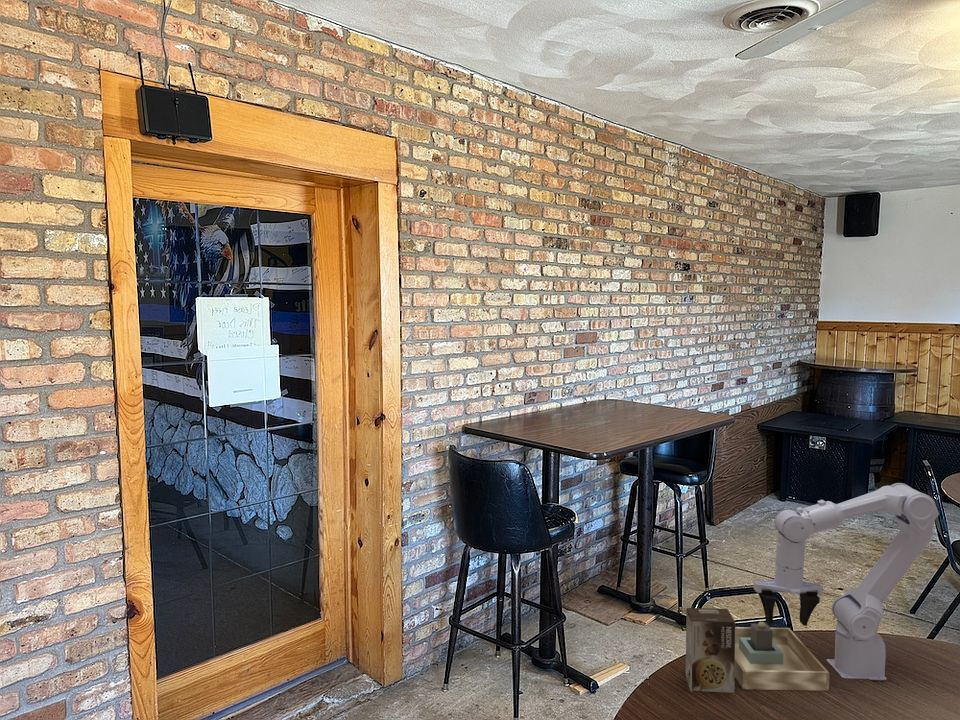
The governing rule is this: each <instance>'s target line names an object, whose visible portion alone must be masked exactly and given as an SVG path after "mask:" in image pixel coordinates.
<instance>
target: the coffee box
mask: <svg viewBox="0 0 960 720" xmlns="http://www.w3.org/2000/svg"><path fill="white" fill-rule="evenodd" d="M685 611H686V615H685V616H686V620H685V621H686V622H685V678H686V682H687V684H688V688H689V691H690V693H692V694H693V693H694V692H693V691H695V692H710V693H711V692H712V693H730V694H732V693H733V694H734V693H735V684H736V683H735V679H736V678H735V627H736V621H735V619H734V618H733V616H732V614H731V612H730V611H729V609H728V608H712V607H711V608H706V607H705V608H704V607H686V610H685Z"/></svg>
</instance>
